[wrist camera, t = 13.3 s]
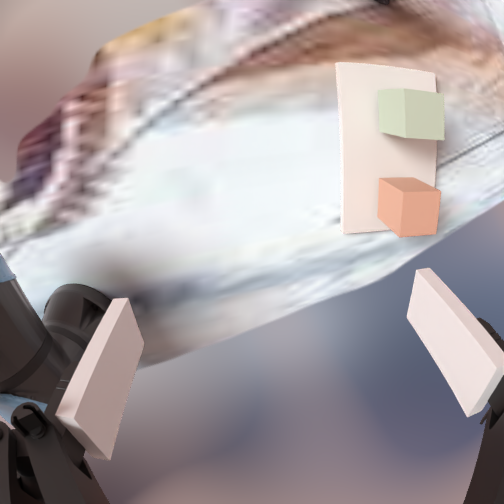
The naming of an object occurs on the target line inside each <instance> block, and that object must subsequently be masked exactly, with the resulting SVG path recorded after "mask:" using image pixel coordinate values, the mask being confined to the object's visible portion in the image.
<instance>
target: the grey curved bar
mask: <svg viewBox="0 0 504 504" xmlns="http://www.w3.org/2000/svg"><path fill="white" fill-rule="evenodd" d="M375 1H378V2H380V3H383V4H388V3H389V0H375Z"/></svg>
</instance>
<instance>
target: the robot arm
mask: <svg viewBox="0 0 504 504" xmlns="http://www.w3.org/2000/svg"><path fill="white" fill-rule="evenodd" d="M407 319H408V320H409V322H410V323H411V325H412V326H413V328H414V329H415V331H416V332H417V334H418V335H419V337H420V338H421V340H422V341H423V343H424V345H425V346H426V348H427V349H428V351H429V352H430V354H431V356H432V357H433V359H434V360H435V362H436V364H437V365H438V367H439V369H440V370H441V372H442V374H443V375H444V377H445V379H446V380H447V382H448V384H449V386H450V387H451V389H452V391H453V393H454V394H455V396H456V398H457V400H458V401H459V403H460V405H461V407H462V408H463V410H464V412H465V414H466V416H467V417H469V416H471V415H473V414H476V413H478V412H480V411H481V410H482V409H483V408H484V406H485V405H486V403H487V402H489V404H490V405H491V407H490V408H489V410H488V411H487V413H486V414H485V416H484V417H483V418H482V420H481V422H480V424H483V422H484V420H486V418H487V420H486V424H485V429H484V434H483V439H482V443H481V447H480V451H479V455H478V459H477V462H476V466H475V469H474V473H473V476H472V480H471V482H470V486H469V489H468V491H467V494H466V497H465V500H464V503H463V504H504V341H503V340H501V337H500V336H499V335H498V333H496V331H495V330H494V329H493V328H492V326H491V325H490V324H489V323H487V322H486V321H484V320H483V319H481V318H475V317H474V316H473V315H472V313H471V312H470V311H469V310H468V309H467V308H466V307H465V305H464V304H463V303H462V302H461V301H460V300H459V299H458V298H457V296H456V295H455V294H454V293H453V292H452V291H451V290H450V289H449V288H448V287H447V286H446V285H445V284H444V283H443V281H442V280H441V279H440V278H439V277H438V276H437V275H436V274H435V273H434V272H433V271H432V270H431V269H430V268H426V269H418V270H416V274H415V279H414V284H413V289H412V294H411V299H410V304H409V308H408V313H407ZM144 345H145V343H144V341H143V338H142V335H141V333H140V330H139V327H138V325H137V322H136V319H135V316H134V313H133V310H132V308H131V305H130V302H129V299H128V298H117V299H113V300H112V302H111V301H110V300H109V299H108V298H106V297H105V296H104V295H103V294H101V293H100V292H98V291H96V290H94V289H92V288H90V287H87V286H84V285H80V284H66V285H63V286H61V287H59V288H57V289H56V290H55V291H54V293H53V294H52V295H51V296H50V298H49V299H48V301H47V303H46V305H45V309H44V316H43V319H42V321H41V319H40V318H39V316H38V315H37V313H36V312H35V310H34V309H33V307H32V306H31V304H30V302H29V301H28V299H27V297H26V296H25V294H24V292H23V291H22V289H21V287H20V285H19V284H18V282H17V280H16V276H15V274H13V273H12V271H11V270H10V268H9V267H8V265H7V263H6V262H5V260H4V258H3V256H2V255H1V254H0V415H1V416H2V417H3V418H4V419H5V420H6V421H7V422H8V423H10V424H11V425H12V426H14V427H15V428H16V429H12V430H11V429H10V428H9V427H8V426H7V425H6V424H5V423H3V422H1V421H0V504H110V503H109V501H108V499H107V498H106V496H105V495H104V493H103V491H102V489H101V487H100V486H99V484H98V482H97V480H96V478H95V476H94V475H93V473H92V471H91V469H90V467H89V465H88V463H87V461H86V460H85V458H84V457H83V456H84V453H85V450H86V451H87V452H88V453H89V454H90V455H91V456H92V457H94V458H99V459H104V460H110V459H111V455H112V451H113V447H114V443H115V440H116V436H117V432H118V429H119V425H120V421H121V418H122V415H123V411H124V408H125V404H126V401H127V398H128V394H129V391H130V388H131V384H132V381H133V378H134V375H135V372H136V369H137V366H138V363H139V360H140V357H141V354H142V351H143V348H144Z"/></svg>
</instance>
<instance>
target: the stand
mask: <svg viewBox="0 0 504 504" xmlns="http://www.w3.org/2000/svg"><path fill="white" fill-rule="evenodd" d="M335 68H336V79H337V93H338V108H339V128H340V158H341V225H340V231H341V232H342V233H343V234H348V233H360V232H372V231H384V230H392V231H393V232H394V233H395V234H396V235H397V236H399V237H409V236H420V235H431V234H436V230H437V223H438V215H439V207H440V197H441V191H440V190H438V189H436V188H435V176H436V157H437V140H432V139H417V138H404V137H400V136H396V135H391V134H387V133H383V132H379V104H378V90H386V89H401V88H405V89H414V90H421V91H428V92H435V93H436V80H435V73H431V72H426V71H420V70H414V69H407V68H400V67H392V66H384V65H374V64H363V63H349V62H337V63H335Z"/></svg>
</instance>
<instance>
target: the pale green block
mask: <svg viewBox="0 0 504 504" xmlns="http://www.w3.org/2000/svg"><path fill="white" fill-rule="evenodd" d="M378 104H379V132H383V133H387V134H391V135H396V136H400V137H404V138H417V139H432V140H444V94H441V93H435V92H428V91H421V90H414V89H405V88H401V89H386V90H378Z"/></svg>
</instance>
